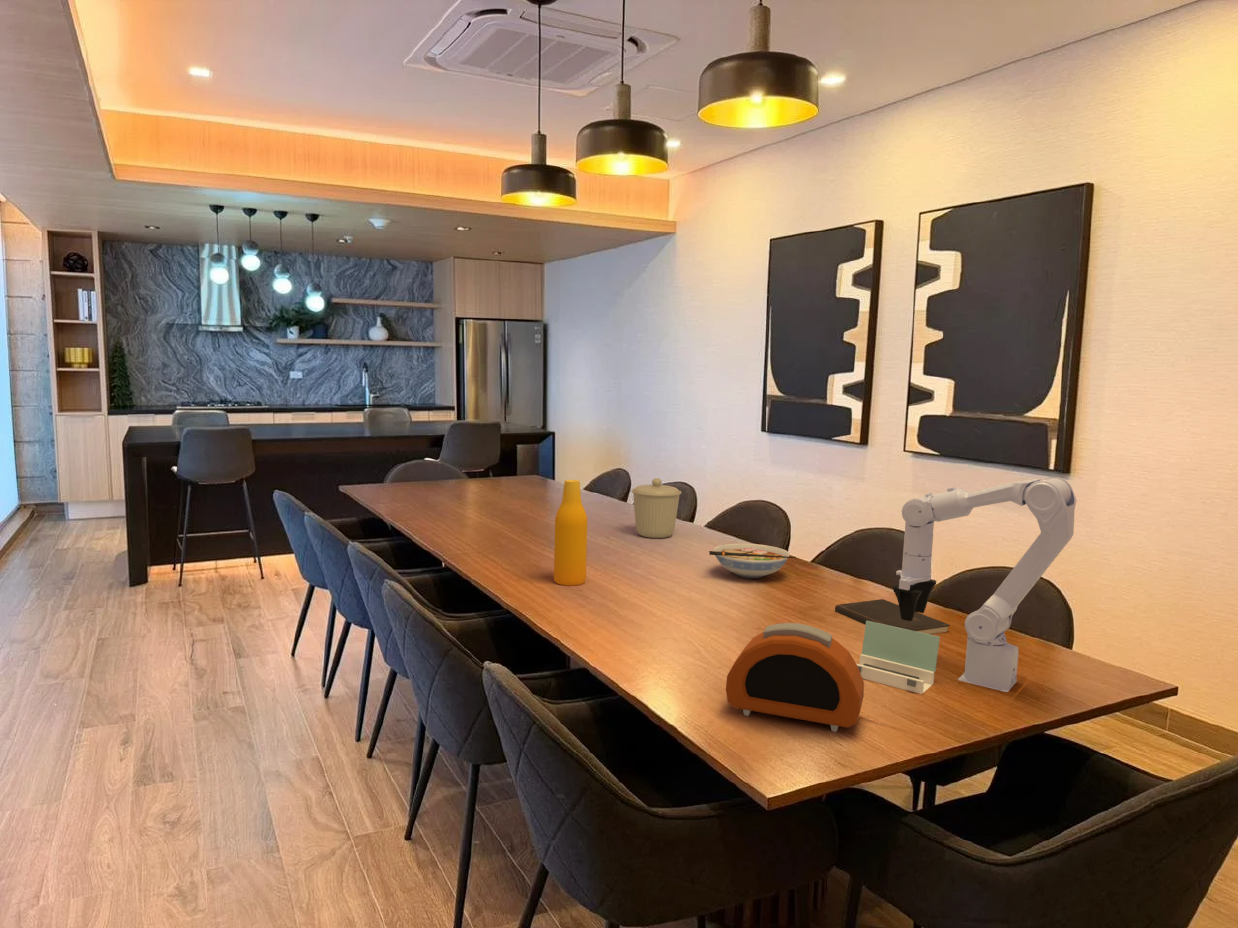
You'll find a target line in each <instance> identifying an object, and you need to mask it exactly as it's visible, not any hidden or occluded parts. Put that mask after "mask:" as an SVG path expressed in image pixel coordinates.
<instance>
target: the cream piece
mask: <svg viewBox="0 0 1238 928" xmlns="http://www.w3.org/2000/svg"><path fill="white" fill-rule="evenodd" d="M864 663H865V664H869V665H873V666H877V667H881V668H885V669H888V670H892V671H896V672H900V673H904V674H908V675H912V676H916V677H919V679H915V678H911V677H907V676H903V675H899V674H895V673H892V672H888V671H884V670H880V669H876V668H872V667H868V666H864V665H863V664H864ZM856 664H857V666H858V669H859V671H860V674H861V676H862V679H863V680H867V681H871V682H875V683H876V684H877V683H878V684H882V685H885V686H889V687H893V688H897V689H901V690H904V691H907V692H912V693H917V694H919V695H923V694H924V693H926V691H928V689H930V688H931V687H932V686H933V685H934V681H935V672H933V671H929V670H925V669H921V668H917V667H913V666H909V665H904V664H900V663H896V662H892V661H888V660H884V659H880V658H876V657H872V656H868V655H864V654H862V653H861V654H859V662H858V663H856Z"/></svg>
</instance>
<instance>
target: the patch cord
mask: <svg viewBox="0 0 1238 928" xmlns="http://www.w3.org/2000/svg"><path fill="white" fill-rule="evenodd" d="M863 665H864V666H868V667H872V668H876V669H880V670H884V671H888V672H892V673H895V674H899V675H903V676H907V677H911V678H915V679H919V677H916V676H912V675H908V674H904V673H900V672H896V671H892V670H888V669H885V668H881V667H877V666H873V665H869V664H865V663H864V664H863Z"/></svg>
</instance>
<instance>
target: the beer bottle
mask: <svg viewBox="0 0 1238 928" xmlns="http://www.w3.org/2000/svg"><path fill="white" fill-rule="evenodd" d="M562 490H563V491H562V499H561V503H560V505H559V507H558V509H557V512H556V514H555V519H554V548H553V549H554V552H553V553H554V554H553V555H554V557H553V558H554V559H553V561H554V562H553V580H554V582H555V583H556V584H557V585H560V586H567V587H572V586H573V587H574V586H580V585H583V584H585V582H586V580H587V556H588V555H587V549H588V548H587V547H588V516H587V513H586V509H585V508H584V506H583V503H582V494H581V483H580V480H579V479H566V480H564V483H563V489H562Z"/></svg>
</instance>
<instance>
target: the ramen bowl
mask: <svg viewBox="0 0 1238 928" xmlns="http://www.w3.org/2000/svg"><path fill="white" fill-rule="evenodd" d="M708 553H709V556H715V557H716V559H717V561H718V562H719V564H720V565H721V566H722V567H723V568H725V570H727V571H728V572H732V573H733V574H736V575H737V576H739V577H740V578H744V579H760V578H762V577H765V576H768V575H771V574H774V573H776V572H778V571H780V569H781V568H782V567H784V565H785V564H786V562H787V560H788V559H797V557H795V556H790V554H791V553H790V552H788V551H787V550H786V549H783V548H780V547H776V546H773V545H772V546H771V545H765V544H757V543H743V542H742V543H739V542H737V543H736V542H735V543H724V544H721V545H720V544H719V545H717V546H715V547H713V548H712V550H710V551H708Z"/></svg>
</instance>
